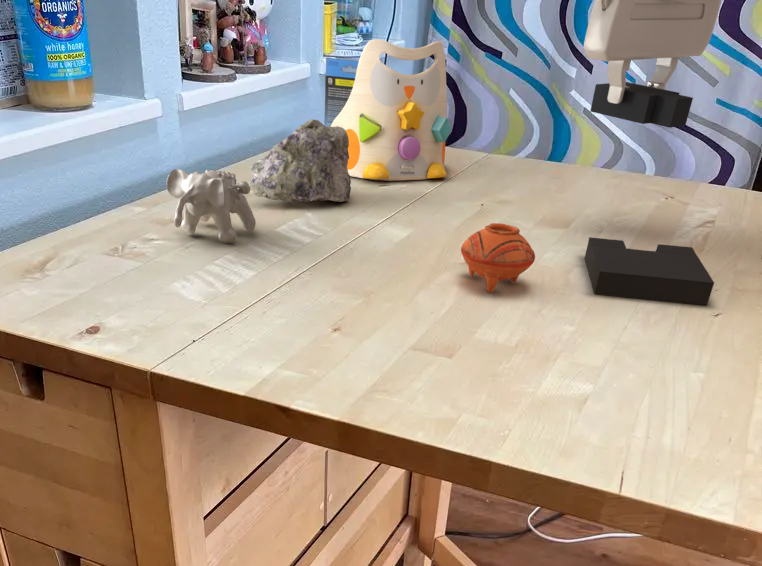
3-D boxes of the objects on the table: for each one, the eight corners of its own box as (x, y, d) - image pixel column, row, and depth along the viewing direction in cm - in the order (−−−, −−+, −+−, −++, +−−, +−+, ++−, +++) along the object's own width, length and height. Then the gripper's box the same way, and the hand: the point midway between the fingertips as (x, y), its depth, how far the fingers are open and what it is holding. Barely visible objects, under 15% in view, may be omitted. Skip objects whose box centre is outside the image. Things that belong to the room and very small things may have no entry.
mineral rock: (248, 207, 106) (245, 122, 100) (262, 186, 114) (261, 107, 108) (345, 215, 105) (349, 131, 99) (352, 193, 114) (356, 114, 108)
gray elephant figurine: (259, 227, 99) (258, 160, 95) (242, 260, 90) (239, 187, 85) (185, 221, 99) (180, 154, 95) (159, 253, 90) (152, 180, 85)
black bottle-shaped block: (619, 108, 104) (625, 81, 102) (692, 124, 97) (700, 96, 95) (590, 111, 101) (595, 84, 99) (663, 128, 94) (670, 100, 92)
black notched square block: (685, 268, 96) (692, 247, 95) (706, 305, 87) (714, 282, 85) (584, 258, 97) (589, 237, 95) (594, 294, 88) (599, 271, 86)
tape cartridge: (377, 140, 142) (382, 59, 134) (371, 144, 139) (376, 62, 131) (329, 134, 144) (332, 54, 136) (322, 138, 141) (325, 57, 133)
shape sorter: (347, 185, 117) (354, 43, 106) (323, 167, 125) (327, 33, 114) (468, 180, 123) (485, 45, 113) (438, 163, 131) (452, 35, 120)
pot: (440, 281, 87) (454, 215, 84) (475, 281, 93) (490, 219, 90) (504, 299, 83) (521, 230, 80) (537, 298, 89) (554, 234, 86)
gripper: (634, -38, 83) (602, 111, 92) (741, -34, 94) (703, 100, 102) (586, -43, 87) (559, 101, 95) (694, -38, 97) (661, 91, 106)
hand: (634, 100), depth 99 cm, fingers closed on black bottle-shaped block, 6 cm apart
